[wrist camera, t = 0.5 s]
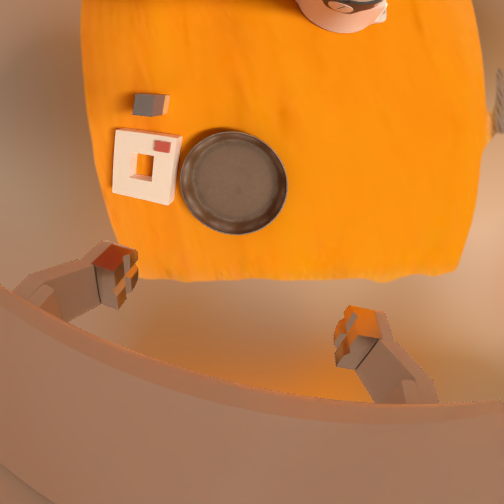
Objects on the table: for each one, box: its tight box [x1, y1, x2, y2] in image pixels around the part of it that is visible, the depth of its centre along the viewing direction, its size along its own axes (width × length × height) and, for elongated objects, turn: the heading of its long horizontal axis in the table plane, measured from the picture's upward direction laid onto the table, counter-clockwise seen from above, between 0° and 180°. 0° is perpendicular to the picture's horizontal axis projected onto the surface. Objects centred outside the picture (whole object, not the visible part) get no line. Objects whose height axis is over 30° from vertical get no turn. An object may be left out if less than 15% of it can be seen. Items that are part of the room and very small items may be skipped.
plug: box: [132, 93, 170, 117], centre depth 44 cm, size 4×4×7 cm
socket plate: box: [112, 128, 183, 206], centre depth 52 cm, size 14×14×4 cm
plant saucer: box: [180, 131, 288, 235], centre depth 52 cm, size 21×21×3 cm
